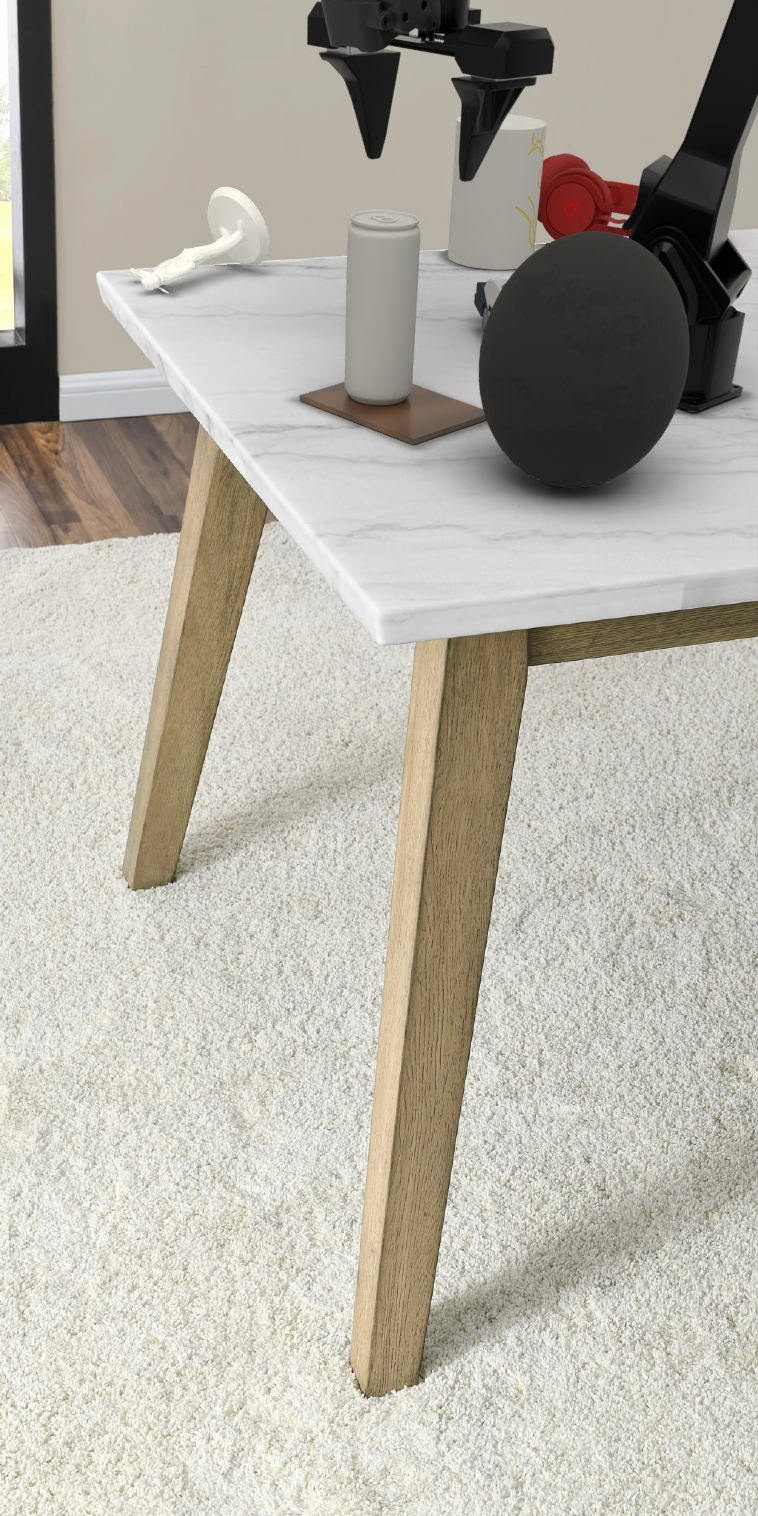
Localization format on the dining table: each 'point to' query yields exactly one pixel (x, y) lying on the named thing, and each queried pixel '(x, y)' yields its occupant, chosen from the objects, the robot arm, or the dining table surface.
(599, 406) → the decorative egg
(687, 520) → the dining table surface
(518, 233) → the cup
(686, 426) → the dining table surface
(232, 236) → the figurine
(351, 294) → the beverage can
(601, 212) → the headphones
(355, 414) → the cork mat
